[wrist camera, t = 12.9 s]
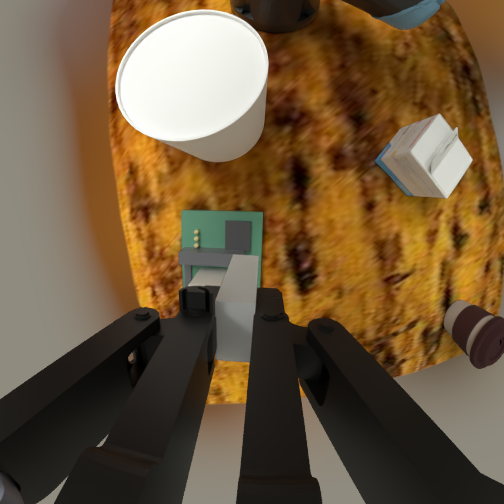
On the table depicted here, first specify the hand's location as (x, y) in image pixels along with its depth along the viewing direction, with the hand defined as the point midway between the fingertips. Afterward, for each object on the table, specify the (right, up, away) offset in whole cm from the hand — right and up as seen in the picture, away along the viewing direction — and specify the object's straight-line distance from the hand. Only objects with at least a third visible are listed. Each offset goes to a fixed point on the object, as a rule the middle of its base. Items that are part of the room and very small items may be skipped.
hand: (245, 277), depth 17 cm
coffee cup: (+42, -12, +28) cm, 52 cm away
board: (-4, 0, +27) cm, 27 cm away
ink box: (+25, +16, +22) cm, 38 cm away
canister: (-5, +21, +22) cm, 31 cm away
